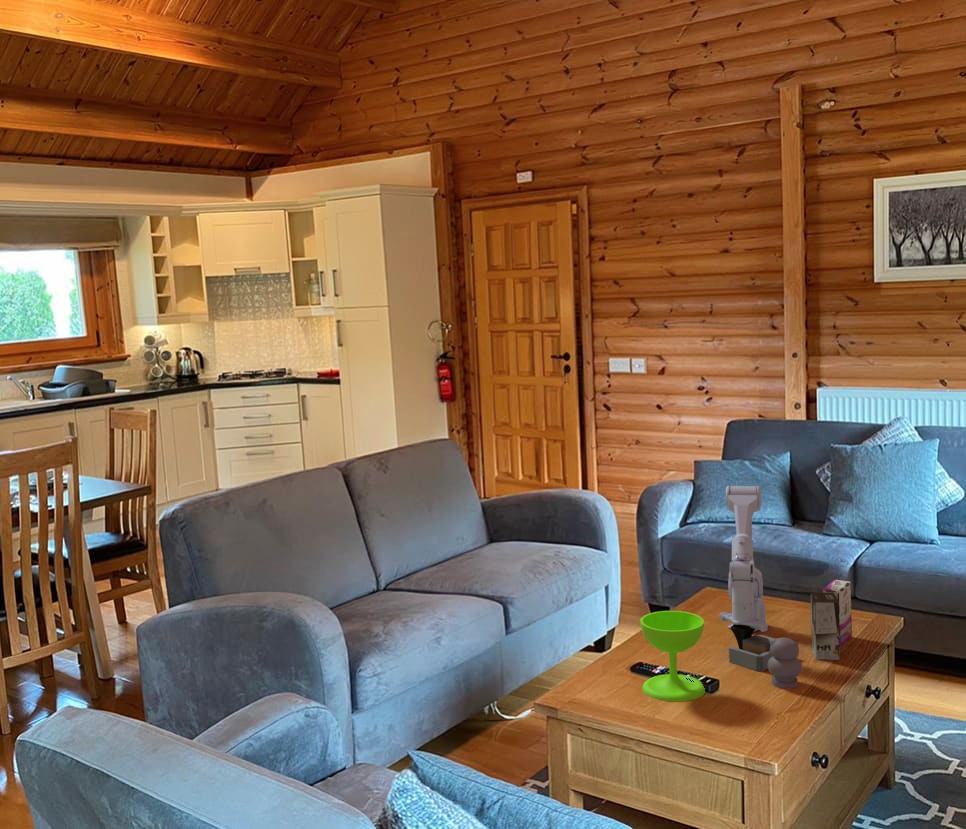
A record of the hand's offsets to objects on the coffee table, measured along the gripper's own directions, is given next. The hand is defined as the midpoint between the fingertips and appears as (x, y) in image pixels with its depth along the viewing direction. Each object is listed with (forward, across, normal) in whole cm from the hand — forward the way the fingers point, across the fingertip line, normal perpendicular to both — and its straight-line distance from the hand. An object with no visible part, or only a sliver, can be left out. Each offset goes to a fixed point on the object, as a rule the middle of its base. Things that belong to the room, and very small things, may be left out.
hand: (743, 650), depth 268 cm
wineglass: (+2, +2, -32) cm, 32 cm away
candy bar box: (+1, +12, +26) cm, 29 cm away
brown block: (+1, +5, 0) cm, 5 cm away
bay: (+1, +6, 0) cm, 6 cm away
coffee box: (+1, +16, +16) cm, 22 cm away
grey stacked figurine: (+1, +20, -10) cm, 22 cm away
